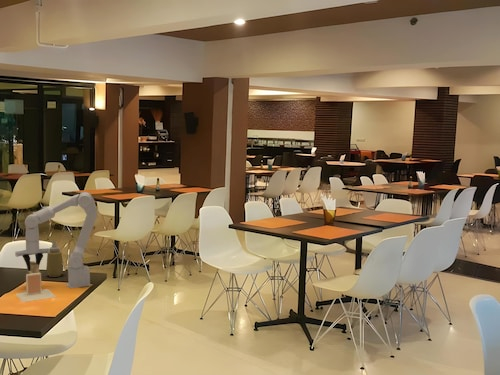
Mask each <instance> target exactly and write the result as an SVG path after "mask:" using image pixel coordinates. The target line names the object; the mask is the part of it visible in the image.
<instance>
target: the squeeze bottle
mask: <svg viewBox="0 0 500 375" xmlns="http://www.w3.org/2000/svg"><path fill="white" fill-rule="evenodd" d="M49 251H50V253H47V255H46V257H47V258H46V272H47V274H48V277H50V278H58V277H61V276H62V275H63V272H64V262H63V256H62V253H63V252H61V251H60V247H59V246H58V244H57V241H56V240H55V239H53V240H52V244H51V247H49Z"/></svg>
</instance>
